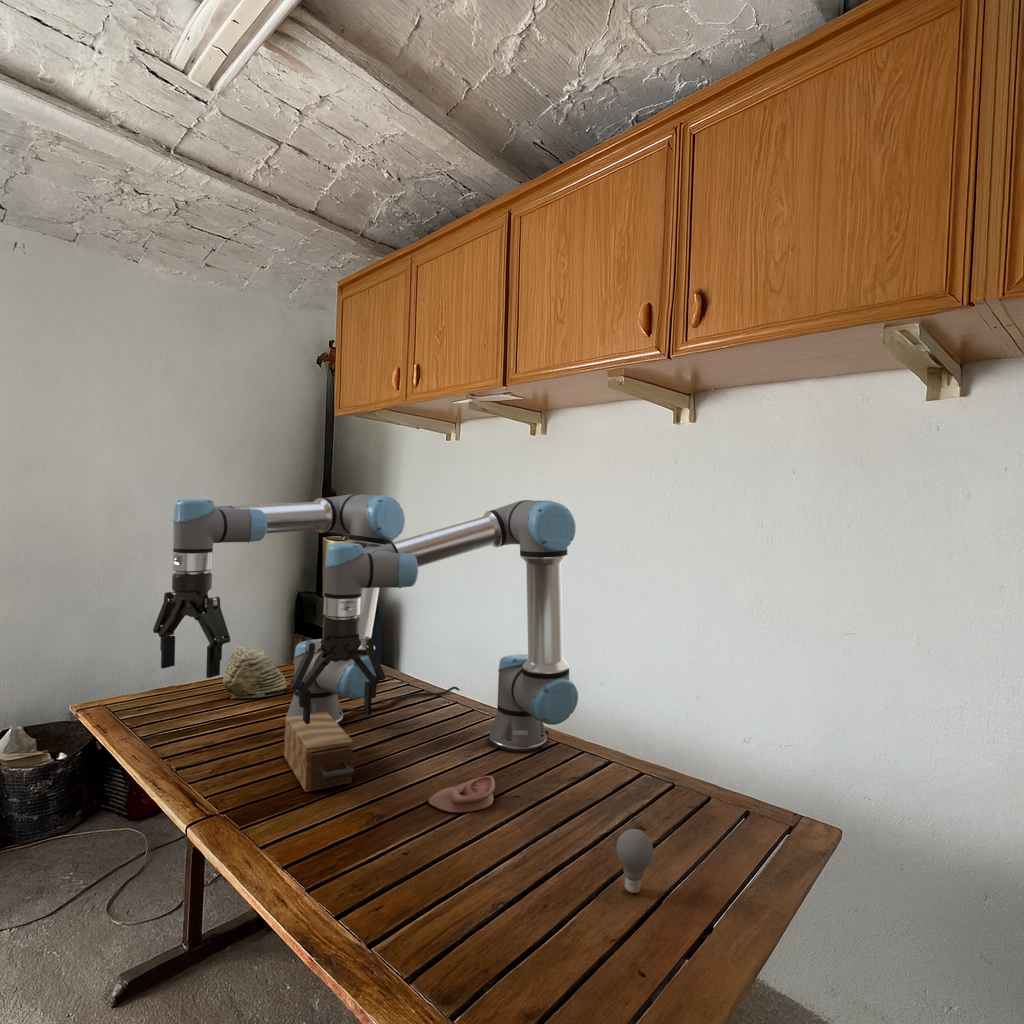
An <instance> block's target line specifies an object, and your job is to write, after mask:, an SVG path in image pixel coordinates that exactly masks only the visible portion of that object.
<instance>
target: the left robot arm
mask: <svg viewBox="0 0 1024 1024" xmlns="http://www.w3.org/2000/svg"><path fill="white" fill-rule="evenodd" d="M405 517H406V516H405V512H404V510H403V508H402V507H401V504H400V502H399V501H398V500H397V499H395V498H393V497H392V496H387V495H383V494H358V493H351V494H350V493H349V494H343V495H337V496H330V497H318V498H316V499H314V501H303V502H281V503H279V502H278V503H263V504H262V503H257V504H234V505H233V504H231V505H215V502H214V501H213V500H212V499H206V498H205V499H204V498H200V499H199V498H180V499H177V500H176V501H175V503H174V510H173V518H172V523H173V537H172V538H173V542H172V544H173V546H172V547H173V548H172V552H173V553H172V555H173V556H172V570H173V571H174V573H173V574H171V575H172V576H171V589H172V591H166V592H164V595H163V603H162V605H161V607H160V610H159V613H158V615H157V618H156V620H155V622H154V623H155V624H154V626H153V628H152V632H153V633H154V634H158V637H159V638H160V640H159V641H160V642H159V643H160V647H159V649H160V669H168V668H172V667H175V665H176V664H175V663H176V636H175V631H176V629H177V628H178V626H179V625H180V623H181V622H182V621H183V619H184V618H185V617H186V616H187V617H189V618H193V619H194V620H195V621H197V622H198V624H199V626H200V628H201V630H202V632H203V634H204V635H205V638H206V639H207V641H208V643H209V644H208V645H207V646H206V671H205V673H206V674H205V676H206V678H207V679H211V678H215V677H218V676H220V675H221V661H222V659H223V645H224V644H229V643H230V642H231V639H232V638H231V636H230V633H229V630H228V627H227V624H226V620H225V617H224V615H223V611H222V608H221V598H220V596H214V597H209V591H210V590H212V587H213V573H211V572H210V571H212V570H213V563H214V562H213V557H214V556H213V553H214V551H213V549H214V544H220V543H221V544H222V543H248V544H249V543H252V542H260V541H262V540H263V539H264V538H265V537H266V534H277V533H291V532H304V531H316V532H318V533H319V534H324V533H332V534H333V533H336V534H342V535H348V536H349V537H348V543H354V544H360V545H362V547H363V549H364V548H366V547H371V546H374V547H378V546H382V545H385V544H390V543H392V542H394V540H395V539H397V538H398V537H399V536H400V534H402V533H403V531H404V529H405V524H406V523H405V522H406V520H405V519H406V518H405ZM379 592H380V588H361V601H360V614H359V615H358V616H357V617H359V619H360V629H359V638H360V639H364V638H365V637H367V636H368V637H370V638H372V635H373V630H374V629H373V628H374V625H375V624H374V623H375V618H376V612H377V605H378V599H379ZM321 640H322V638H317V639H308V640H304V641H300V642H299V643H298V644H297V645H296V646H295V650H294V655H293V657H294V672H293V673H294V674H295V672H296V670H297V668H298V666H299V664H300V662H301V660H302V658H303V656H304V654H305V651H306V643H307V642H308V641H311V642H321ZM374 650H375V651H376V646H375V645H374ZM356 653H357V654H358V655H359V657H360V658H361V660H362V661H363V662H364V664H365V665H366V666H367V667H368V669H369V670H370V671H371V673H372V674H373V675H376V673H375V671H374V669H373V666H372V664H371V661H370V659H369V657H368V654H367V652H366V649H365V648H364V647H363V646H362V645H360V647H359V648H358V650H357V651H356ZM322 654H323V651H322V649H321V648H319V649H318V651H317V652H316V653H314V656H313V659H312V661H311V663H310V665H309V667H308V669H307V671H306V673H305V675H304V678H305V677H306V676H307V674H308V673H309V672H310V671H311V669H312V668H313V667H314V665H315V664H316V663H317V662H318V660H319V658H320V656H321V655H322ZM294 674H293V675H294ZM304 678H303V680H304ZM303 680H302V681H303ZM365 682H369V680H368V679H367V677H366V676H365V675H364V674H363V672H362V671H361V670H360V668H359V667H358V666H357V665H356V663H355V662H354V661H353V660H352V659H349V661H342V660H341V661H338V662H333V661H331V662H330V663H329V664H328V665H327V666H326V667H325V668H324V669H323V671H322V672H321V673H320V675H319V676H318V677H317V678H316V680H315V681H314V682H313V684H312V685H311V686H310V688H309V690H310V692H311V707H310V714H312V713H319V712H328V714H329V715H330V716H331V717H332V718H333V719H334V720H335V721H336V723H337V724H338V725H339V726H340V725H342V723H343V722H344V713H343V712H359V713H360V712H364V708H342V706H341V702H340V699H339V697H340V698H343V699H350V700H360V699H364V692H365ZM453 690H457V691H458V692H459V691H461V690H460V688H459V687H457V686H451V687H449V688H448V689H446V690H445V691H440V692H418V693H417V692H416V693H411V694H410V693H409V694H405V695H401V696H398V697H395V698H393V699H392V700H391V701H390V702H388V703H386V704H384V705H380V706H375V707H371V711H376V710H377V711H378V710H380V709H382V710H383V709H385V708H388V707H389V706H391V705H392V704H394V703H395V702H397V701H399V700H403V699H406V698H412V697H417V696H441V695H445V694H447V693H449V692H451V691H453ZM292 696H293V697H292V699H291V702H290V704H289V708H288V711H287V713H286V715H285V717H290V716H297V715H303V707H302V708H301V707H300V705H299V691H298V690H293V695H292Z"/></svg>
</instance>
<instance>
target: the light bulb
mask: <svg viewBox="0 0 1024 1024" xmlns="http://www.w3.org/2000/svg"><path fill="white" fill-rule="evenodd" d="M615 849H616V854H617V857H618V859H619V861H620V863H621V865H622V867H623V873H624V874H623V875H624V876H625V878H624V888H625V890H627V891H628V892H630V893H634V894H635V893H639V892H640V891H641V889H642V887H641V886H642V879H643V877H644V875H645V871H646V868H647V867H648V866H649V864H650V863H651V861H652V859H653V855H654V847H653V843H652V841H651V838H649V836H648V835H647V834H646V833H645V832H643V831H642V830H641V829H636V828H629V829H627V830H625V831H623V832H622V833H621V834H620V835H619V837H618V839H617V841H616V847H615Z"/></svg>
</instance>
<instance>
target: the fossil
mask: <svg viewBox="0 0 1024 1024" xmlns="http://www.w3.org/2000/svg"><path fill="white" fill-rule="evenodd" d="M222 676H223V677H222V685H223V687H224V688H225V690H226V691H228V693H229V698H230V699H250V698H264V697H271V696H275V695H281V694H284V693H285V691H286V689H287V687H288V686H287V680H286V678H285V676H284V674H283V673H282V672H281V669H279V668H278V667H277V665H276V663H275V662H274V660H273V659H272V658H271V657H270V656H269V655H268V654H267V653H266V652H265V650H264V649H263V648H260V647H258V648H251V647H247V646H246V647H245V646H238V647H237V648H236V649H235V650H233V651H232V653H231V656H230V657H229V659H228V660H227V663H226V666H225V668H224V671H223V675H222Z"/></svg>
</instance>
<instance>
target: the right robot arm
mask: <svg viewBox="0 0 1024 1024" xmlns="http://www.w3.org/2000/svg"><path fill="white" fill-rule="evenodd" d="M576 527H577V525H576V521H575V518H574V515H573V514H572V512H571V511H570V509H568V508H567V507H566V506H565V505H564V504H563V503H560V502H556V501H553V500H547V499H545V500H535V499H534V500H532V499H523V500H518V501H514V502H512V503H509V504H506V505H502V506H500V507H498V508H495V509H491V510H488V511H487V510H486V511H485V512H484V514H483V516H481V517H477V518H474V519H471V520H470V519H469V520H467V521H464V522H460V523H456V524H453V525H449V526H445V527H442V528H439V529H434V530H431V531H428V532H425V533H421V534H417V535H414V536H411V537H407V538H404V539H400V540H396V541H393V542H392V543H390V544H385V545H382V546H378V547H374V546H371V547H366V548H364V549H363V547H362V545H360V544H354V543H350V542H333V543H331V544H329V545H328V546H327V547H326V556H325V562H324V591H323V592H324V593H323V594H324V596H323V611H322V614H323V616H324V617H323V619H322V637H321V639H322V640H321V642H311V641H308V640H307V641H308V642H307V643H306V651H305V654H304V656H303V658H302V660H301V662H300V664H299V666H298V668H297V670H296V672H295V674H293V677H292V678H291V681H290V683H289V686H290V688H291V689H292V690H293V691H294V690H298V691H299V705H300V707H301V708H302V707H303V721H304V722H305V723H306V724H310V707H311V692H310V690H309V688H310V686H311V685H312V684H313V682H314V681H315V680H316V678H317V677H318V676H319V675H320V673H321V672H322V671H323V669H324V668H325V667H326V666H327V665H328V664H329V663H330V662H331V661H333V662H338V661H341V660H342V661H349V659H352V660H353V661H354V662H355V663H356V665H357V666H358V667H359V668H360V670H361V671H362V672H363V674H364V675H365V676H366V677H367V679H368V680H369V682H365V692H364V697H363V709H364V711H363V713H364V714H366V715H367V716H371V715H372V710H371V708H372V707H373V706H372V704H373V703H372V702H373V699H376V696H377V685H378V684H379V682H380V681H384V680H385V679H386V675H385V672H384V669H383V667H382V665H381V662H380V659H379V658H378V655H377V652H376V649H375V650H374V646H375V640H374V638H372V637H371V638H370V637H368V636H367V637H365V638H364V639H360V638H359V629H360V619H359V617H357V616H358V615H359V614H360V601H361V588H379V589H382V588H383V589H387V588H391V589H392V588H394V589H396V588H398V589H402V588H410V587H413V586H414V585H415V584H416V582H417V581H418V576H419V568H421V567H423V566H426V565H429V564H433V563H437V562H440V561H443V560H447V559H449V558H453V557H456V556H459V555H463V554H466V553H471V552H473V551H477V550H479V549H483V548H487V547H489V546H492V547H494V548H500V547H503V546H508V545H509V546H510V545H519V557H520V558H521V559H522V560H523V561H524V562H525V565H526V610H527V613H526V617H527V619H526V620H527V653H525V654H524V653H523V654H510V655H504V656H502V657H501V658H500V659H499V665H498V683H497V709H496V713H495V717H494V719H493V722H492V724H491V728H490V729H489V735H488V741H489V743H490V744H491V745H492V746H493V747H494V748H496V749H499V750H502V751H506V752H513V753H529V752H535V751H539V750H541V749H543V748H544V747H546V745H547V735H549V734H550V731H549V730H547V729H545V725H549V726H551V725H552V726H553V725H554V726H555V725H559V724H561V723H564V722H565V721H566V720H568V719H569V718H570V716H571V714H574V711H575V710H576V708H577V705H578V703H579V702H578V701H579V692H578V688H577V686H576V685H575V683H574V682H573V681H572V680H570V664H569V663H568V662H567V661H566V659H564V646H563V645H564V643H563V641H564V639H563V637H564V636H563V581H562V579H563V577H562V576H563V575H562V563H563V561H564V560H565V559H567V557H568V547H569V546H570V545H571V543H572V541H574V539H575V537H576V532H577V531H576V530H577V528H576ZM360 645H362V646H363V647H364V648H365V649H366V652H367V654H368V657H369V659H370V661H371V664H372V666H373V669H374V671H375V673H376V675H373V674H372V673H371V671H370V670H369V669H368V667H367V666H366V665H365V664H364V662H363V661H362V660H361V658H360V657H359V655H358V654H357V653H356V651H357V650H358V648H359V647H360ZM319 648H321V649H322V651H323V654H322V655H321V656H320V658H319V660H318V662H317V663H316V664H315V665H314V667H313V668H312V669H311V671H310V672H309V673H308V674H307V676H306V677H305V678H304V675H305V673H306V671H307V669H308V667H309V665H310V663H311V661H312V659H313V656H314V653H316V652H317V651H318V649H319ZM303 678H304V680H303ZM302 680H303V681H302ZM544 724H545V725H544Z"/></svg>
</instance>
